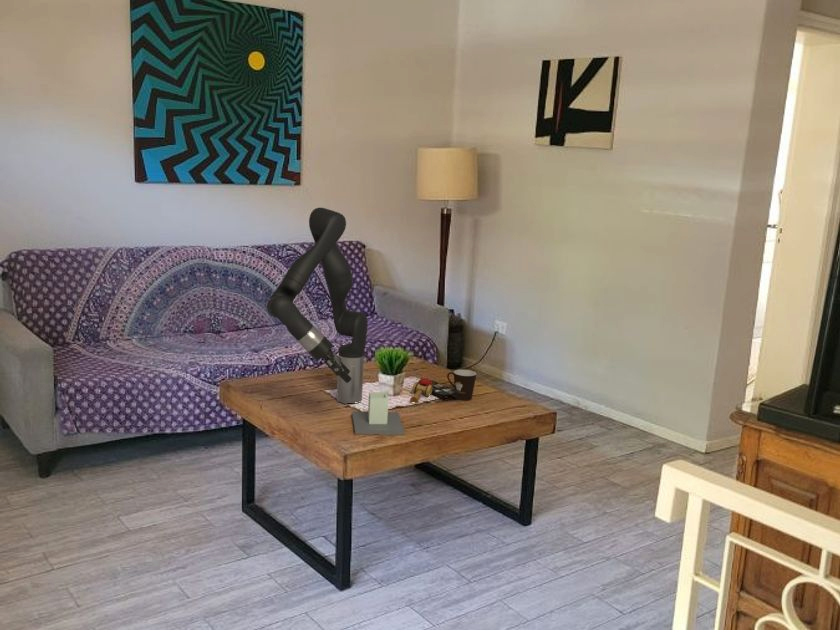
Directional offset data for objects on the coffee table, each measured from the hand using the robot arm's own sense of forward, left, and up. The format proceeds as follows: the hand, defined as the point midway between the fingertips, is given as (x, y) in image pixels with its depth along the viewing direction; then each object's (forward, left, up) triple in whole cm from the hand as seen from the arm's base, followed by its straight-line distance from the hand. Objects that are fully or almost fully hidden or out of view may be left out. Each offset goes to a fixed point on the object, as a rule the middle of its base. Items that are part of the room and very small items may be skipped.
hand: (348, 377), depth 264 cm
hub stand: (0, +10, -17) cm, 20 cm away
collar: (0, +10, -15) cm, 18 cm away
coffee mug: (-32, +45, -17) cm, 58 cm away
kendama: (-31, +29, -17) cm, 46 cm away
